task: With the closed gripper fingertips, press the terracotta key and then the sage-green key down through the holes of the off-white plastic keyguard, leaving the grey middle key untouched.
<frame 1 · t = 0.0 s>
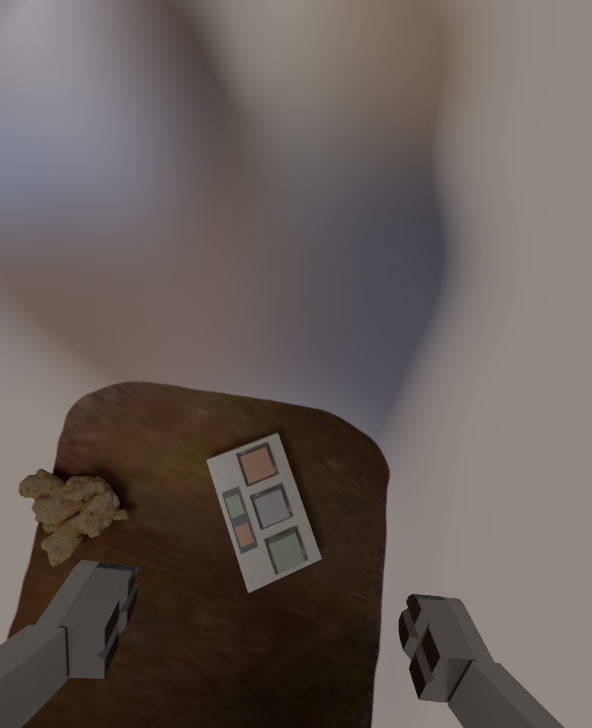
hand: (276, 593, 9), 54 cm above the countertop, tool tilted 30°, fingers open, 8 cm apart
terracotta key: (257, 464, 58), point 4 cm above the countertop, slide at 0.0 cm
sage key: (286, 550, 56), point 4 cm above the countertop, slide at 0.0 cm
grey key: (271, 506, 57), point 4 cm above the countertop, slide at 0.0 cm
keypad: (263, 504, 61), on the countertop
ginger root: (86, 503, 57), on the countertop
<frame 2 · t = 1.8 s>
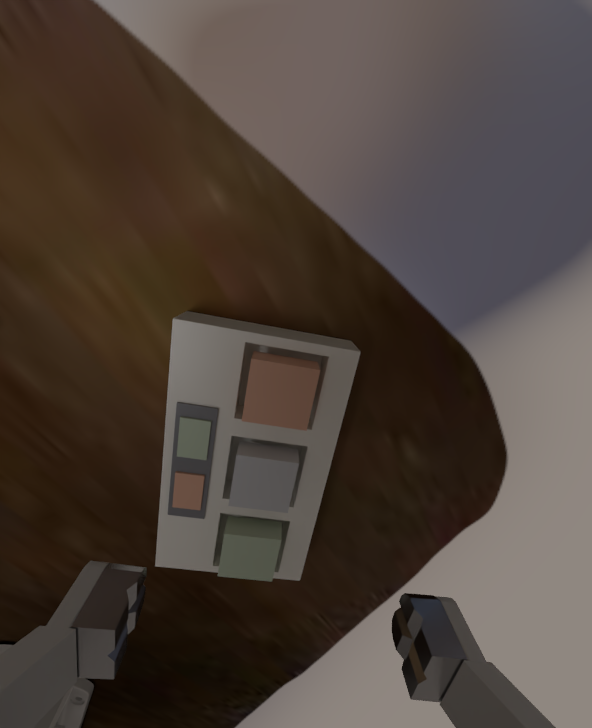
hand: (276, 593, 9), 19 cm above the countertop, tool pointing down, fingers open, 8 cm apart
terracotta key: (280, 390, 24), point 4 cm above the countertop, slide at 0.0 cm
sage key: (250, 548, 29), point 4 cm above the countertop, slide at 0.0 cm
grey key: (263, 477, 26), point 4 cm above the countertop, slide at 0.0 cm
keypad: (250, 447, 30), on the countertop
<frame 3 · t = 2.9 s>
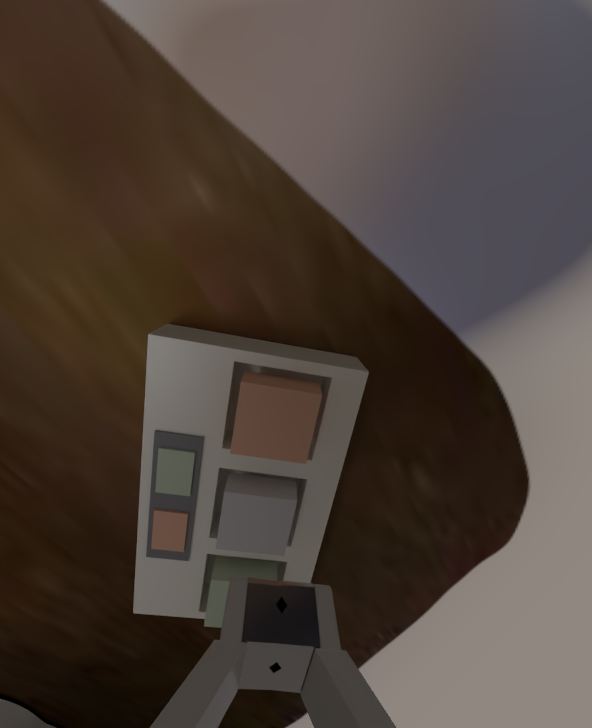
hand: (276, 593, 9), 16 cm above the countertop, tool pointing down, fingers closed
terracotta key: (275, 417, 20), point 4 cm above the countertop, slide at 0.0 cm
sage key: (241, 593, 25), point 4 cm above the countertop, slide at 0.0 cm
grey key: (256, 514, 23), point 4 cm above the countertop, slide at 0.0 cm
keypad: (242, 476, 26), on the countertop
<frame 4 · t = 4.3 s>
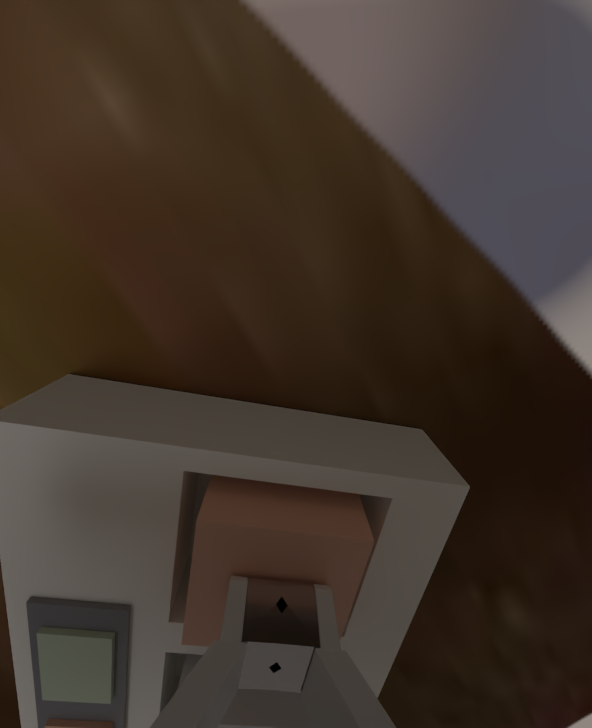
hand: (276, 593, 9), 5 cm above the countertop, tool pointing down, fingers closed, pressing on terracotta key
terracotta key: (273, 564, 10), point 4 cm above the countertop, slide at 0.5 cm, touching gripper
grey key: (238, 727, 12), point 4 cm above the countertop, slide at 0.0 cm
keypad: (219, 614, 16), on the countertop
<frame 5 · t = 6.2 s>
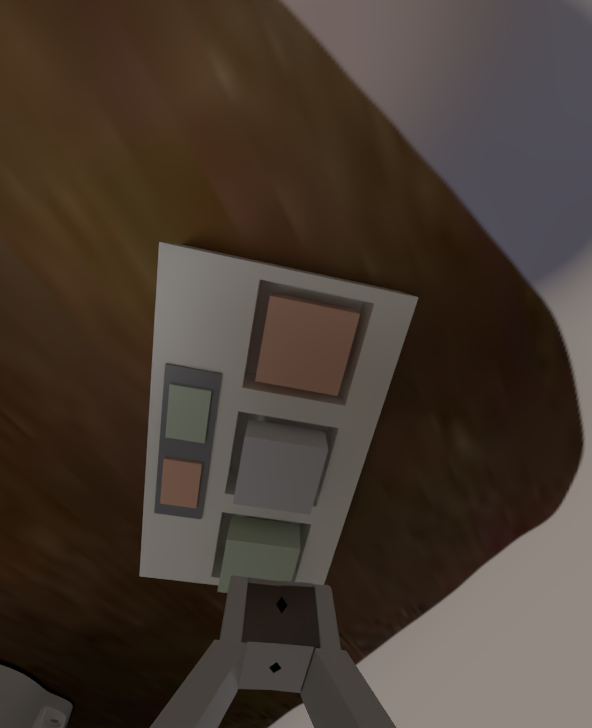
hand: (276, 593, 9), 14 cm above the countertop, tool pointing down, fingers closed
terracotta key: (304, 344, 19), point 3 cm above the countertop, slide at 1.2 cm
sage key: (259, 557, 23), point 4 cm above the countertop, slide at 0.0 cm
grey key: (279, 467, 20), point 4 cm above the countertop, slide at 0.0 cm
keypad: (261, 430, 24), on the countertop
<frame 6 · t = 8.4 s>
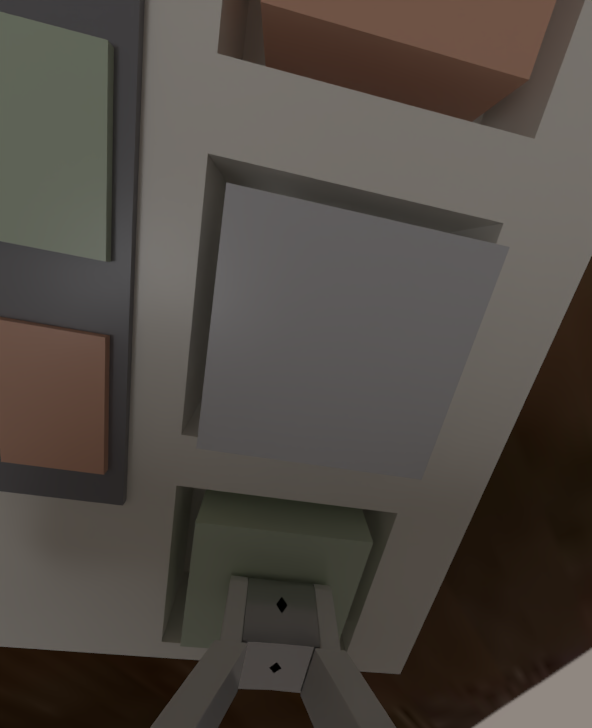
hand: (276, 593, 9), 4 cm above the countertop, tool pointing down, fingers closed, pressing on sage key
sage key: (272, 566, 10), point 3 cm above the countertop, slide at 1.0 cm, touching gripper
grey key: (332, 343, 7), point 4 cm above the countertop, slide at 0.0 cm
keypad: (271, 306, 11), on the countertop
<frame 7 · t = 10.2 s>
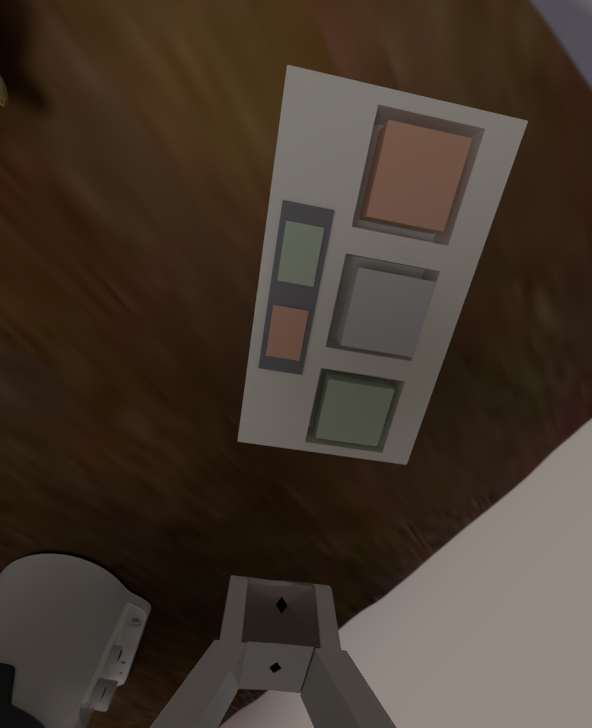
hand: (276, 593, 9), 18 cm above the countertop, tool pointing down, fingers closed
terracotta key: (411, 182, 19), point 3 cm above the countertop, slide at 1.2 cm
sage key: (351, 408, 25), point 3 cm above the countertop, slide at 1.2 cm
grey key: (382, 311, 21), point 4 cm above the countertop, slide at 0.0 cm
keypad: (350, 299, 25), on the countertop
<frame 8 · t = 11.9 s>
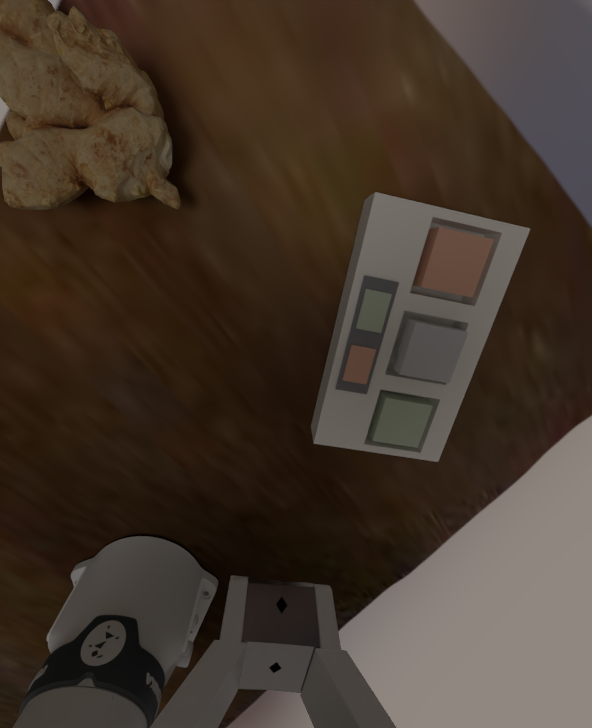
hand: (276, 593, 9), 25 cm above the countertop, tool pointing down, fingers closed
terracotta key: (450, 263, 28), point 3 cm above the countertop, slide at 1.2 cm
sage key: (398, 418, 33), point 3 cm above the countertop, slide at 1.2 cm
grey key: (428, 350, 29), point 4 cm above the countertop, slide at 0.0 cm
keypad: (398, 337, 33), on the countertop
ginger root: (105, 135, 27), on the countertop
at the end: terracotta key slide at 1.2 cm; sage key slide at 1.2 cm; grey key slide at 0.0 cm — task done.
